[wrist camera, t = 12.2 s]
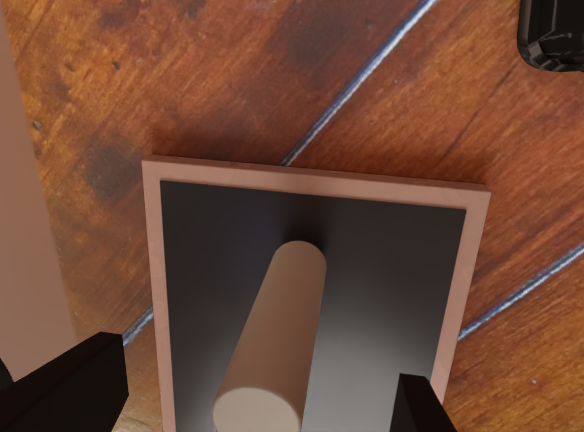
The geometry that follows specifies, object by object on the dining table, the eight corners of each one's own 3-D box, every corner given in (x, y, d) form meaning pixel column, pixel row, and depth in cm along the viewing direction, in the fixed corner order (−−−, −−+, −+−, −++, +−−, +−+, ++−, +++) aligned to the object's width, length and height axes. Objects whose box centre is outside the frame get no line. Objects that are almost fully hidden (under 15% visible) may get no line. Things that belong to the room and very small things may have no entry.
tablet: (174, 477, 27) (166, 494, 26) (151, 154, 19) (139, 160, 18) (410, 519, 25) (412, 539, 24) (485, 184, 18) (493, 192, 17)
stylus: (276, 273, 19) (210, 448, 11) (277, 227, 19) (209, 379, 10) (326, 279, 19) (298, 463, 11) (330, 232, 18) (304, 393, 10)
